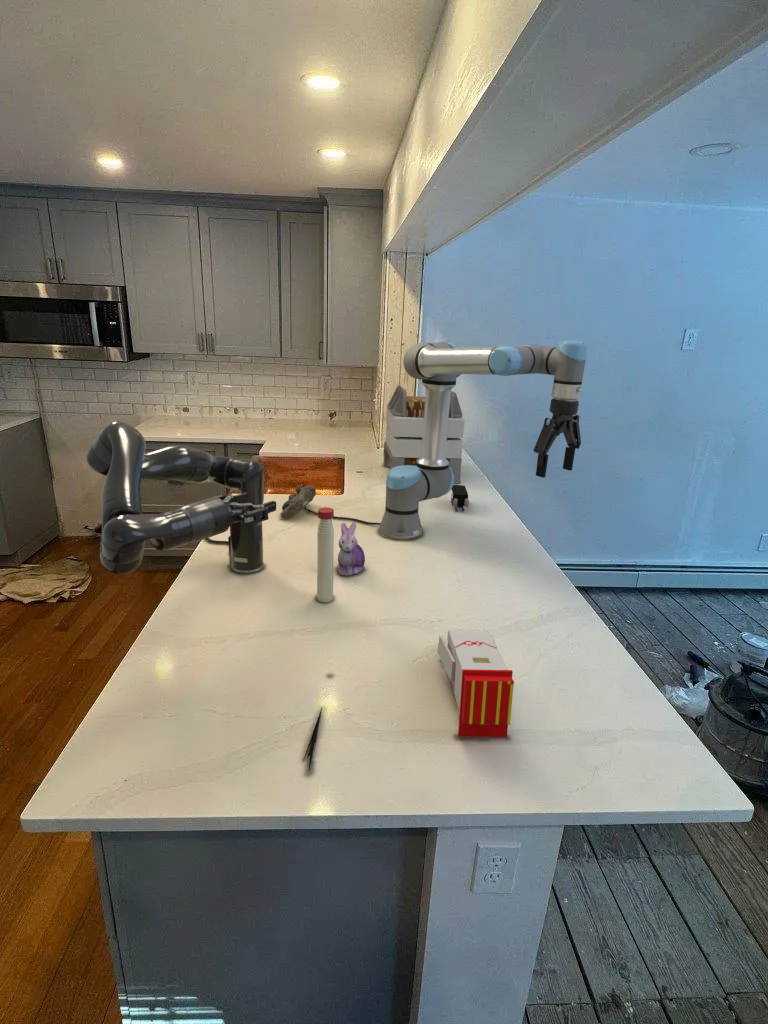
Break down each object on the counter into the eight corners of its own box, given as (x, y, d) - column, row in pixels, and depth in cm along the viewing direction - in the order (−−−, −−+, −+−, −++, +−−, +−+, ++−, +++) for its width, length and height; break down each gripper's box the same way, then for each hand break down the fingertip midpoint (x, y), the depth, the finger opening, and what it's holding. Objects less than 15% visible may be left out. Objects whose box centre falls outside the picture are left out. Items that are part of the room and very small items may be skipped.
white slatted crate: (382, 463, 289) (386, 382, 275) (445, 464, 293) (451, 384, 279) (390, 482, 257) (394, 392, 243) (460, 483, 261) (468, 394, 247)
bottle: (335, 600, 153) (336, 513, 144) (320, 603, 151) (321, 515, 142) (329, 593, 156) (330, 507, 148) (314, 596, 154) (315, 509, 146)
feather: (331, 679, 122) (336, 673, 122) (307, 777, 96) (313, 769, 95) (324, 675, 122) (329, 669, 121) (298, 772, 95) (304, 764, 95)
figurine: (343, 579, 165) (344, 531, 159) (329, 565, 173) (330, 519, 168) (372, 573, 169) (374, 526, 164) (357, 560, 177) (359, 515, 172)
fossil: (285, 490, 226) (313, 470, 221) (301, 508, 229) (329, 489, 224) (270, 515, 206) (301, 493, 201) (287, 534, 209) (318, 513, 204)
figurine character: (468, 516, 224) (463, 500, 237) (471, 498, 221) (465, 483, 234) (452, 515, 224) (447, 499, 237) (453, 498, 220) (449, 482, 234)
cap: (336, 518, 145) (336, 511, 144) (321, 520, 143) (321, 513, 142) (330, 513, 148) (330, 506, 148) (315, 515, 146) (315, 508, 146)
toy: (488, 613, 130) (523, 677, 101) (484, 667, 133) (517, 744, 104) (435, 612, 130) (455, 676, 101) (432, 666, 133) (451, 743, 103)
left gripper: (179, 529, 118) (240, 509, 130) (225, 547, 110) (285, 524, 123) (176, 494, 115) (239, 478, 128) (223, 510, 108) (284, 491, 120)
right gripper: (551, 404, 147) (539, 482, 154) (601, 398, 162) (588, 469, 169) (526, 400, 152) (517, 476, 159) (577, 394, 167) (566, 464, 175)
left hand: (261, 501), depth 125 cm, fingers open, 8 cm apart
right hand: (554, 473), depth 164 cm, fingers open, 13 cm apart
